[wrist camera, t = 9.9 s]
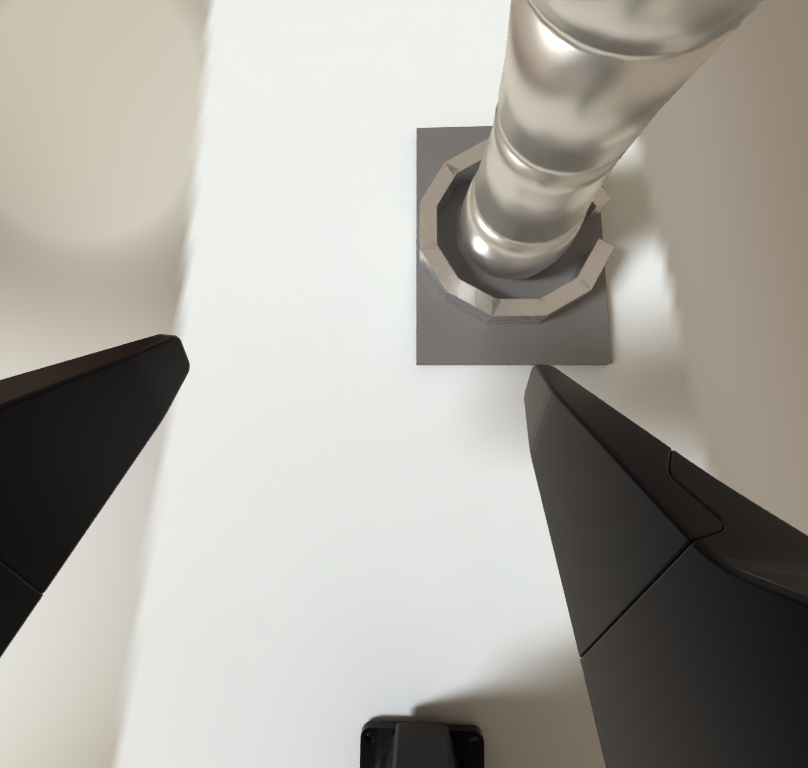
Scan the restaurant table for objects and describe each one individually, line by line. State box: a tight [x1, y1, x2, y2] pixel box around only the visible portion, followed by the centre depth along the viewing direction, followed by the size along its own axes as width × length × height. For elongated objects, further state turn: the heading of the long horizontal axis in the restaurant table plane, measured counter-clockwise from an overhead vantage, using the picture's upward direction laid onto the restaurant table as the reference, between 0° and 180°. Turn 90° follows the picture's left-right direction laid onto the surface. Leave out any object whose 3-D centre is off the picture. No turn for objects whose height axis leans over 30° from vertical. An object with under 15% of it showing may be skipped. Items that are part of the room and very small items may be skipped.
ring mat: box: [417, 126, 612, 365], centre depth 23 cm, size 16×12×1 cm
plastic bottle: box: [460, 0, 762, 280], centre depth 13 cm, size 6×7×20 cm
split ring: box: [420, 139, 615, 325], centre depth 22 cm, size 11×11×2 cm
